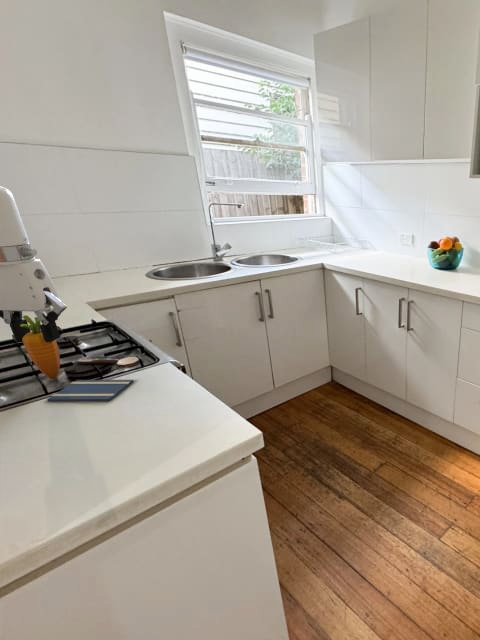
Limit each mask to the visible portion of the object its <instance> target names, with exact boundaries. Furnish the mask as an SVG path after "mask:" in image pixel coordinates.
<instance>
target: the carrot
mask: <svg viewBox="0 0 480 640" xmlns="http://www.w3.org/2000/svg"><path fill="white" fill-rule="evenodd" d="M22 319H25V320H26V321H27V323H28V325H27V324H21V325H20V326H21V327H26V328H28V329H30V331H31V332H29V333H27V334H26V335H25V336H24V337H23V338H22V344H23V346H24V348H25V350H26V352H27V354H28V357H29V358H30V359H31V361H32V362H33V364H34V365H35V367H36V368H37V369H38V370H39V371H40V372H41V373H42V374H43V375H44V376H45V377H47V378H49V379H51V380H56V379H57V377H58V376H59V372H60V367H61V358H60V356H61V355H60V350H59V346H58V342H57V339H56V340H54V341H52V342H45V340H44V337H43V334H42V332H41V329H40V325H41V324H42V323H41V321H40V320H39V319H38V317H37V316H35V317H34V320H33V319H32V318H31V317H30V316H28V315H27V314H25V315H22Z"/></svg>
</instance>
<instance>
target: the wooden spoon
mask: <svg viewBox="0 0 480 640" xmlns="http://www.w3.org/2000/svg"><path fill="white" fill-rule="evenodd" d="M77 363H78V364H80V365H117V367H119V368H121V369H122V368H130V367H135V366H136V365H138V364H140V359H139V357H138V356H128V357H124V358H121V359H118V358H79V359H78V360H77Z"/></svg>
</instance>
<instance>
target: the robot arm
mask: <svg viewBox="0 0 480 640" xmlns="http://www.w3.org/2000/svg"><path fill="white" fill-rule="evenodd" d="M15 199H16V198H15V197H14V195H13V193H12V192H11V191H10V189H8V188H7V187H5V186H1V185H0V318H1V319H2V320H3V322H4V323H5V324H6V325H9V327H10V329H11V330H10V331H11V332H12V334H13V337H14V339H15V342H17V343H23V341H22V338H23V337H24V336H25V335H26V334H27V333H29V332H32V331H31V330H30V329H28V328H26V327H21V326H20V325H21V324H27V325H29V323H28V322H27V321H26V320H25V319H24V318H23V312H33V313H34V314H35V317H38V319H39V320H40V323H41V325H40V329H41V332H42V334H43V337H44V340H45V342H52V341H54V340H56V341H57V340H58V339H60V338H61V334H60V331H59V329H58V325H57V323H56V321H58V320H59V317H60V316H61V314H62V313H63V312H64V311H65V310H66V309H67V308H68V307H67V305H66V304H65V303H64V302H62V301H61V299H60V297H59V296H60V295H59V293H58V290H57V288H56V286H55V284H54V282H53V280H52V277H51V275H50V274H49V272H48V270H47V268H46V267H45V265H44V263H43V262H42V261H41V259H40V258H36V257H35V256H37V255H38V251H37V249H35V248H32V245H31V243H30V239H29V237H28V234H27V231H26V228H25V225H24V222H23V220H22V217H21V213H20V211H19V208H18V205H17V202H16V200H15ZM45 314H46V315H45Z"/></svg>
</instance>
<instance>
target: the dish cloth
mask: <svg viewBox="0 0 480 640" xmlns="http://www.w3.org/2000/svg"><path fill="white" fill-rule="evenodd" d="M133 383H134V380H133V379H75V381H72V382H71V383H69V384H68V385H67V386H65V387H64V388H62V389H61V390H59V391H57V392H56V393H53V394H52V395H51V396H50V397H48V398H47V399H46V400H47V402H110V401H112V400H113V399H114V398H115V397H117V396H118V395H119V394H120V393H121V392H123V391H124V390H126V388H128V387H129V386H130V385H131V384H133Z"/></svg>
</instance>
